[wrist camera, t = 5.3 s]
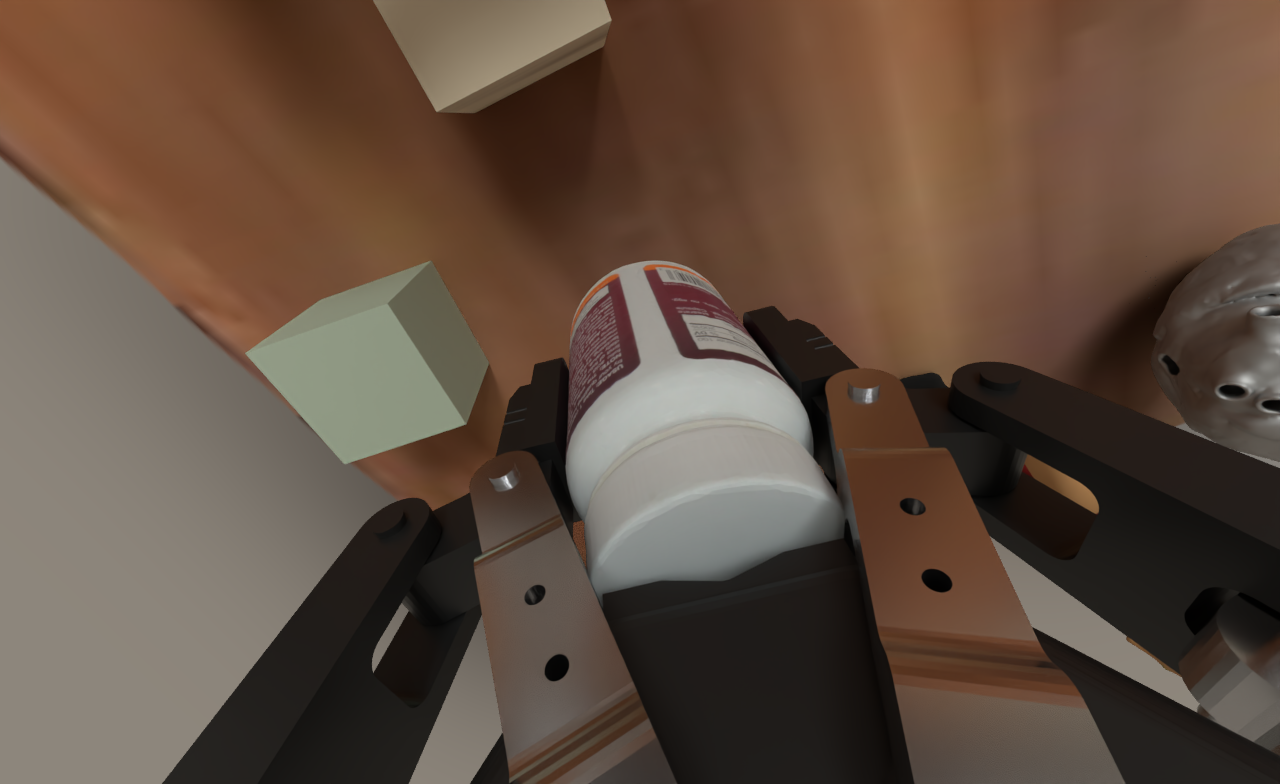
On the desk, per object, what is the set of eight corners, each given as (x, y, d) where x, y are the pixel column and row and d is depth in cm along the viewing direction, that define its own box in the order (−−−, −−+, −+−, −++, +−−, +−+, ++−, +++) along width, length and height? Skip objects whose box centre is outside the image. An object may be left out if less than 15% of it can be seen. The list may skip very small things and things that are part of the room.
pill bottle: (603, 419, 15) (623, 697, 8) (543, 290, 12) (495, 531, 5) (741, 374, 15) (888, 623, 8) (709, 231, 12) (886, 407, 5)
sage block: (321, 299, 19) (244, 353, 15) (431, 259, 18) (387, 303, 14) (391, 395, 21) (344, 464, 17) (489, 362, 21) (466, 424, 17)
